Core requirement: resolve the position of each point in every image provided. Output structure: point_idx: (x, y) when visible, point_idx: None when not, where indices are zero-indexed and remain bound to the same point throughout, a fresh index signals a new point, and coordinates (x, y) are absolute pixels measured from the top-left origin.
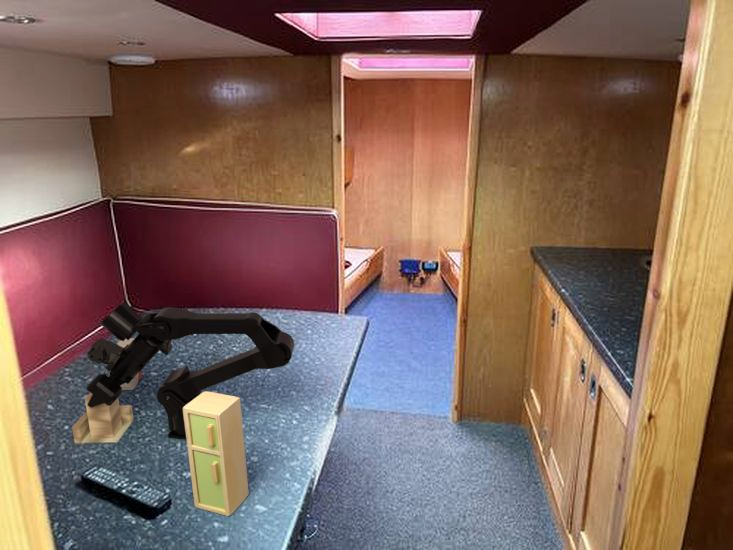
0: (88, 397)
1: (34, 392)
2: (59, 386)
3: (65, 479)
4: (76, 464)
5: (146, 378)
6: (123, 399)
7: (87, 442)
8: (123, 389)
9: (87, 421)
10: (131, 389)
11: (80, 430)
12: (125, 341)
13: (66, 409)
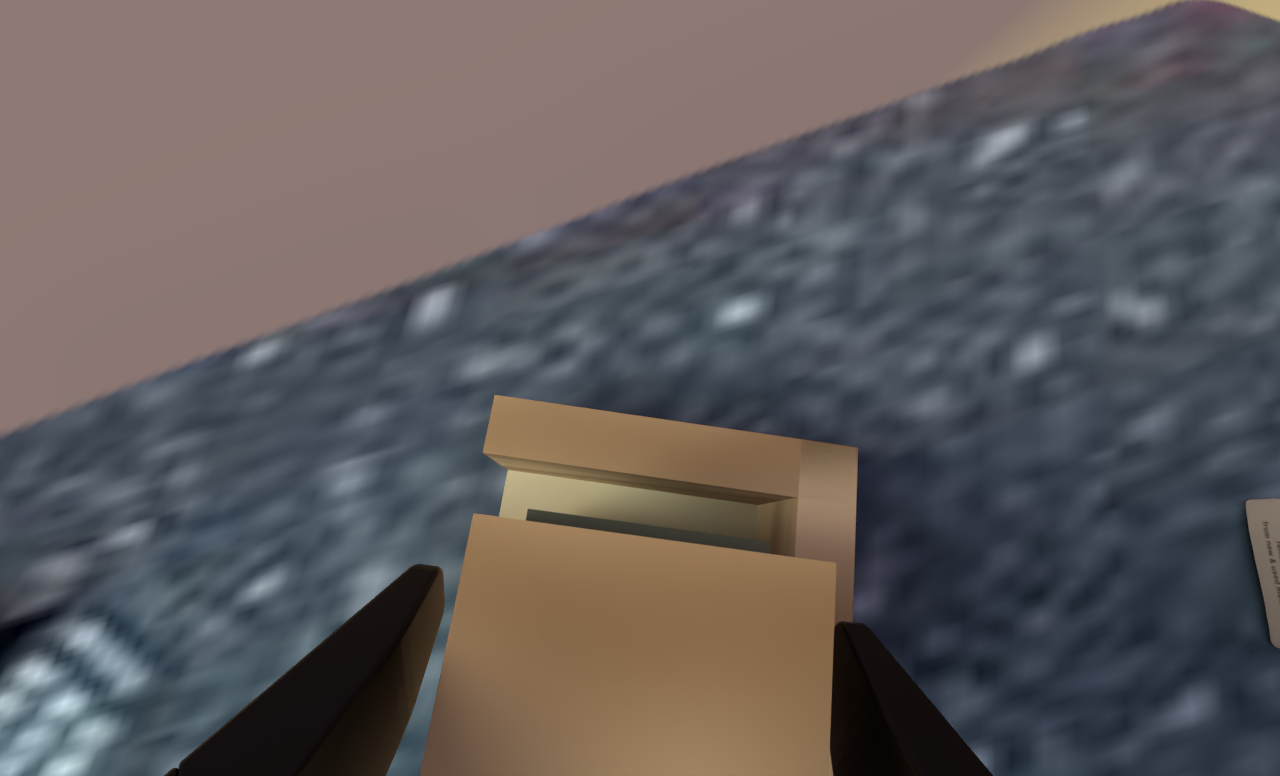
0: (500, 563)
1: (1164, 12)
2: (1252, 116)
3: (56, 505)
4: (227, 522)
5: None
6: (1115, 602)
7: (501, 512)
8: (1261, 564)
9: (633, 478)
10: (1272, 631)
11: (508, 460)
12: None
13: (965, 241)
